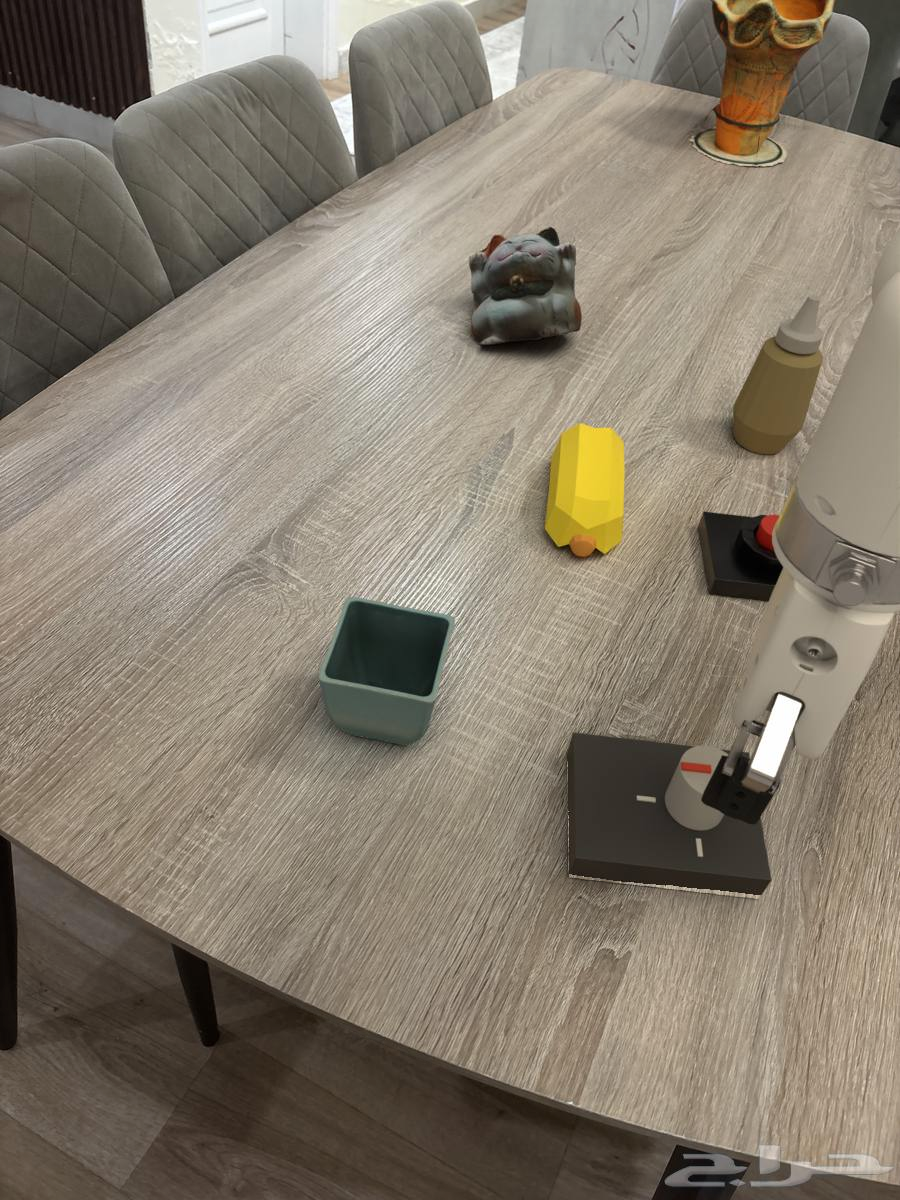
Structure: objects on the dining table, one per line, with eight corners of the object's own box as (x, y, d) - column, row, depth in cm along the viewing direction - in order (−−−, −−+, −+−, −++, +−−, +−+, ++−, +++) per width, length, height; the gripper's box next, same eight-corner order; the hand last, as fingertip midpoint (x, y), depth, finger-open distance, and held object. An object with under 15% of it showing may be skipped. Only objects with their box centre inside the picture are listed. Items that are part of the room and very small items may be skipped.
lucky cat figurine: (453, 348, 118) (448, 229, 114) (485, 342, 128) (481, 234, 124) (570, 344, 112) (569, 219, 108) (593, 339, 123) (593, 225, 119)
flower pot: (427, 772, 74) (435, 701, 67) (317, 750, 74) (315, 678, 68) (446, 687, 80) (456, 615, 73) (345, 667, 80) (346, 594, 74)
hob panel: (737, 773, 76) (750, 750, 74) (758, 900, 68) (772, 879, 66) (566, 753, 76) (573, 730, 74) (567, 878, 68) (575, 856, 66)
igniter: (811, 540, 98) (826, 511, 95) (831, 609, 91) (847, 579, 88) (697, 527, 97) (708, 497, 95) (708, 595, 90) (720, 565, 88)
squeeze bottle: (712, 442, 108) (763, 298, 96) (739, 412, 113) (790, 271, 100) (778, 471, 106) (839, 326, 93) (803, 438, 110) (864, 297, 98)
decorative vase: (653, 142, 174) (693, -35, 154) (725, 120, 186) (771, -47, 166) (745, 182, 164) (801, -2, 144) (815, 156, 176) (876, -17, 156)
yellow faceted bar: (540, 559, 92) (618, 571, 92) (551, 507, 87) (633, 520, 87) (551, 451, 105) (619, 461, 104) (561, 400, 100) (633, 411, 99)
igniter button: (789, 530, 93) (795, 516, 91) (795, 554, 90) (802, 541, 89) (753, 525, 93) (758, 512, 91) (758, 550, 90) (764, 536, 89)
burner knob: (719, 783, 72) (738, 746, 68) (726, 834, 69) (747, 798, 65) (662, 776, 72) (678, 739, 68) (667, 827, 68) (684, 791, 65)
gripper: (925, 691, 37) (779, 895, 49) (961, 463, 48) (835, 675, 61) (740, 621, 39) (644, 834, 51) (816, 417, 50) (723, 631, 63)
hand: (748, 747), depth 56 cm, fingers open, 9 cm apart
